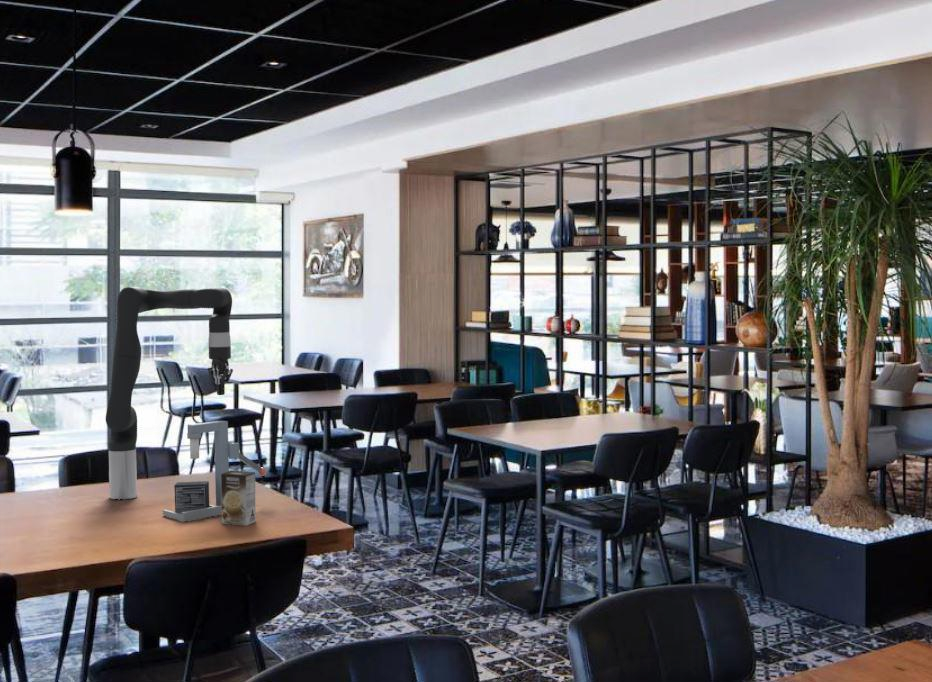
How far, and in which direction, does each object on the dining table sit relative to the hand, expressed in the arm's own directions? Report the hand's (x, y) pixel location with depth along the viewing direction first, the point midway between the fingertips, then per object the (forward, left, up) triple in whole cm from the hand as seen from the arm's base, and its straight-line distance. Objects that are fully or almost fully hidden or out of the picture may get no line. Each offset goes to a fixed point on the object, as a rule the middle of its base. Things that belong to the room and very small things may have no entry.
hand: (220, 394), depth 357 cm
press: (+15, -16, -37) cm, 43 cm away
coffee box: (+35, -16, -37) cm, 54 cm away
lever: (+16, -1, -23) cm, 28 cm away
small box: (+13, -19, -37) cm, 44 cm away
